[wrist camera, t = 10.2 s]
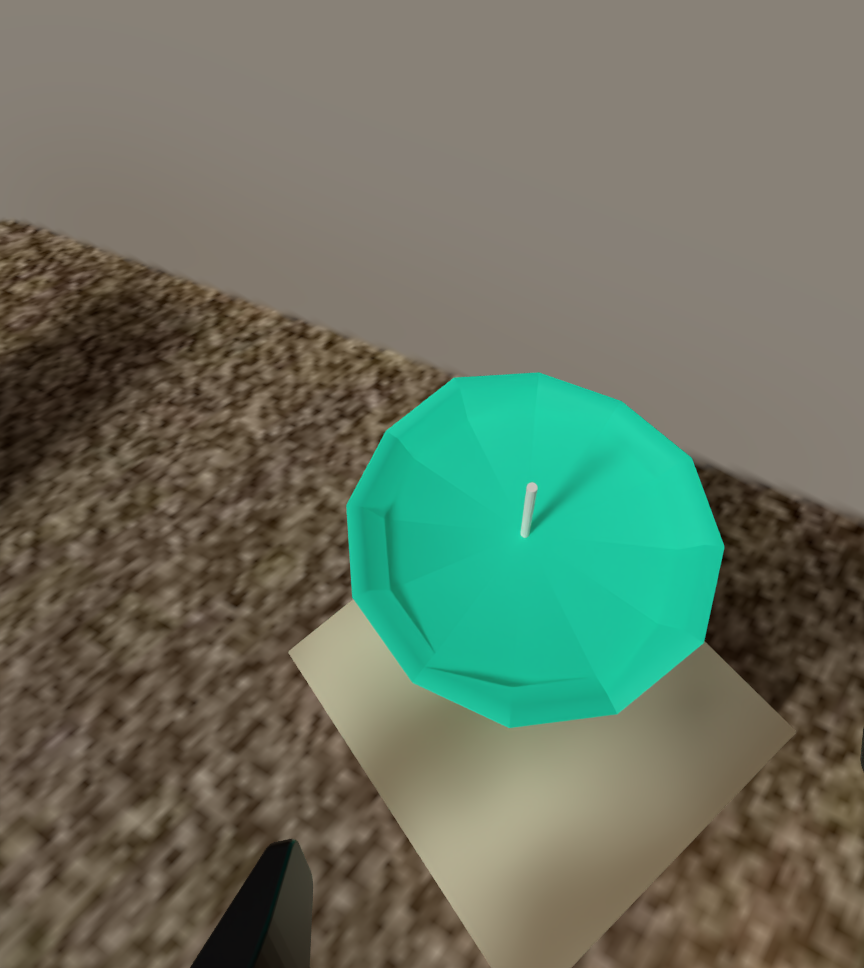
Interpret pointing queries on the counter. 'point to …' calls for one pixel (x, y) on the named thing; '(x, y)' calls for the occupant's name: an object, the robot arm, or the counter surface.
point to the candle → (532, 549)
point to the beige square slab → (542, 787)
